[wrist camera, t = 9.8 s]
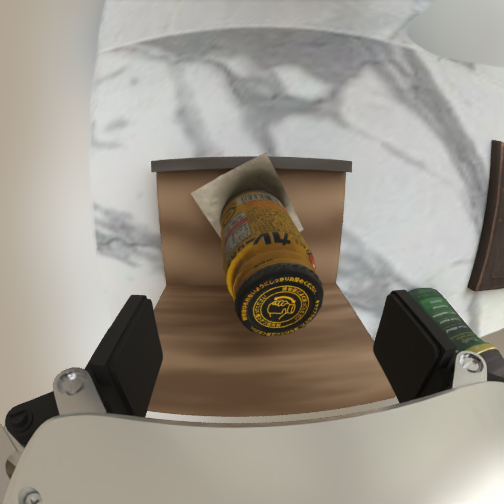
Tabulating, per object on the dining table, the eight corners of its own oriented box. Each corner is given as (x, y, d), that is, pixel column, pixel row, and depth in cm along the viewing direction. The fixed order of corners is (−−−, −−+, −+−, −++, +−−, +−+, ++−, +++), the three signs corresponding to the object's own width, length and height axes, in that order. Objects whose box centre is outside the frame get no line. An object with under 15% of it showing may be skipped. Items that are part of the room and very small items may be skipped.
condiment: (237, 262, 28) (254, 360, 18) (190, 192, 24) (177, 273, 13) (303, 228, 27) (355, 312, 17) (265, 151, 23) (313, 202, 12)
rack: (163, 159, 26) (57, 176, 10) (337, 159, 27) (455, 179, 10) (172, 284, 31) (120, 406, 14) (328, 282, 32) (394, 397, 15)
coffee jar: (399, 285, 33) (484, 378, 15) (441, 284, 33) (523, 359, 16) (381, 345, 36) (438, 442, 18) (421, 339, 36) (482, 421, 19)
